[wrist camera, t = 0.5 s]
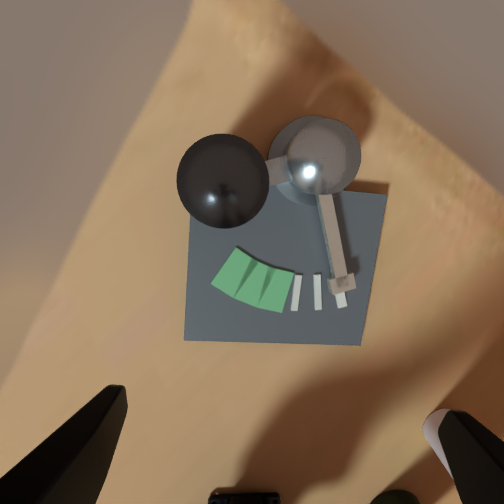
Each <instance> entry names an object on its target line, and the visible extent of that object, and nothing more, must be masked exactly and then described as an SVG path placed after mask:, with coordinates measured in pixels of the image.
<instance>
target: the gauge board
mask: <svg viewBox="0 0 504 504" xmlns="http://www.w3.org/2000/svg"><path fill="white" fill-rule="evenodd" d="M320 119H328V118H325V117H321V116H305V117H301V118H298V119H296V120H294V121H292V122H290V123H289V124H288V125H286V126H285V127H284V128H283V129H282V130H281V131H280V132H279V133H278V135H277V136H276V137H275V139H274V140H273V142H272V144H271V147H270V149H269V153H268V159H267V160H271V159H274V158H278V157H282V156H283V152H284V149H285V147H286V145H287V143H288V142H289V140H290V139H291V138H292V137H293V136H294V135H295V134H296V133H297V132H299V131H300V130H302V129H303V128H304V127H306V126H307V125H308V124H310V123H312V122H314V121H317V120H320ZM332 197H333V203H334V208H335V213H336V218H337V223H338V228H339V233H340V239H341V244H342V249H343V254H344V259H345V264H346V269H347V271H351V272H353V273H354V278H355V284H356V289H352V290H349V291H345V292H342V293H339V294H335V295H332V294H331V293H330V292H329V288H328V284H327V279H326V277H328V276H332V273H331V269H330V264H329V259H328V254H327V249H326V245H325V240H324V235H323V230H322V225H321V220H320V216H319V211H318V206H317V201H316V196H315V195H313V194H305V193H302V192H300V191H298V190H296V189H295V188H294V187H292V186H291V185H290V183H289V182H284V183H280V184H277V185H273V186H269V192H268V196H267V199H266V201H265V203H264V205H263V207H262V209H261V210H260V212H259V213H258V214H257V215H256V216H255V217H254V218H253V219H251V220H250V221H248V222H247V223H245V224H243V225H241V226H238V227H234V228H228V229H220V228H214V227H210V226H207V225H205V224H203V223H201V222H199V221H198V220H196V219H195V218H194V217H193V216H192V215H191V214H190V231H189V251H188V271H187V290H186V310H185V329H184V340H188V341H222V342H256V343H290V344H324V345H358V346H361V340H362V335H363V329H364V323H365V318H366V312H367V307H368V301H369V295H370V290H371V284H372V278H373V273H374V267H375V261H376V256H377V250H378V245H379V239H380V233H381V228H382V222H383V216H384V211H385V205H386V200H387V195H384V194H374V193H364V192H354V191H344V190H341V191H339V192H337V193H334V194H332Z"/></svg>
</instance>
